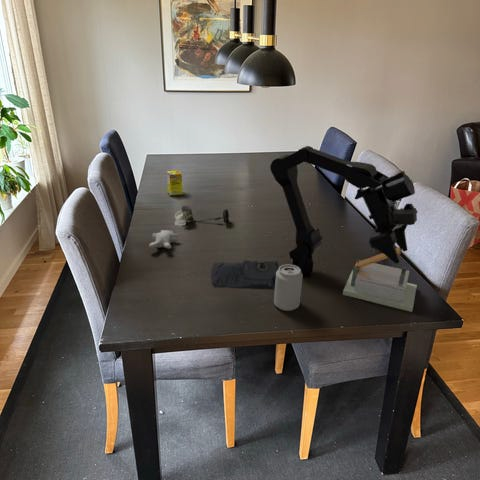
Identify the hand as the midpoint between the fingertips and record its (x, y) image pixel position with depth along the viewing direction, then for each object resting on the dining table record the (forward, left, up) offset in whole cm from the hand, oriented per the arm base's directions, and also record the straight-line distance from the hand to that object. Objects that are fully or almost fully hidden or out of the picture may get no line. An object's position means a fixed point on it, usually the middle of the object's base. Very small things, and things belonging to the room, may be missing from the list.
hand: (401, 256), depth 122 cm
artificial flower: (-65, +49, -16) cm, 83 cm away
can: (-31, -6, -15) cm, 35 cm away
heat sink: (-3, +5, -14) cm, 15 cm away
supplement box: (-83, +82, -15) cm, 118 cm away
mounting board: (-2, +5, -15) cm, 16 cm away
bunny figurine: (-75, +27, -15) cm, 82 cm away
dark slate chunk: (-45, +9, -16) cm, 48 cm away
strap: (-5, +6, -4) cm, 9 cm away
